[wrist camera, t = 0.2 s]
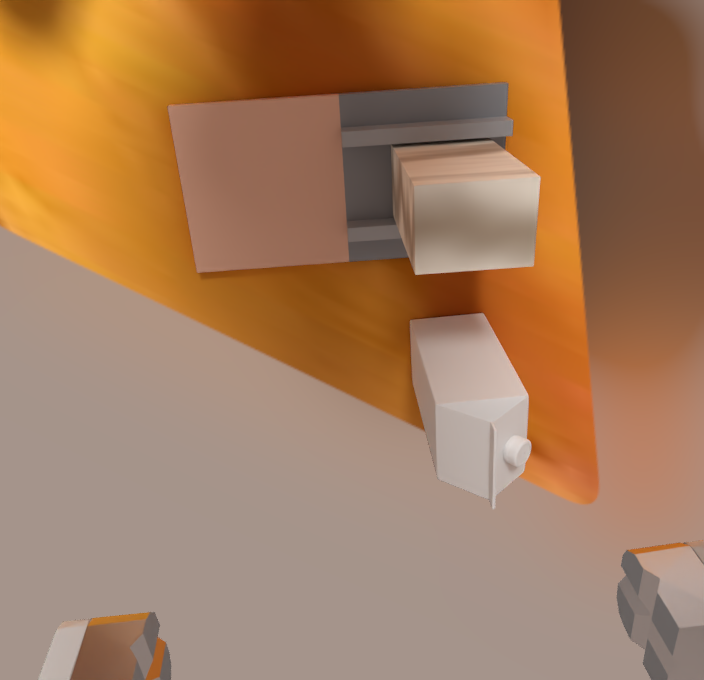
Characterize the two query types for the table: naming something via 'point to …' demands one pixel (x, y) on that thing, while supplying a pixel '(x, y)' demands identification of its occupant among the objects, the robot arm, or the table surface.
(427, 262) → the block
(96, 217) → the table surface
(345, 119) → the chute
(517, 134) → the table surface
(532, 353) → the table surface
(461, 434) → the milk carton
